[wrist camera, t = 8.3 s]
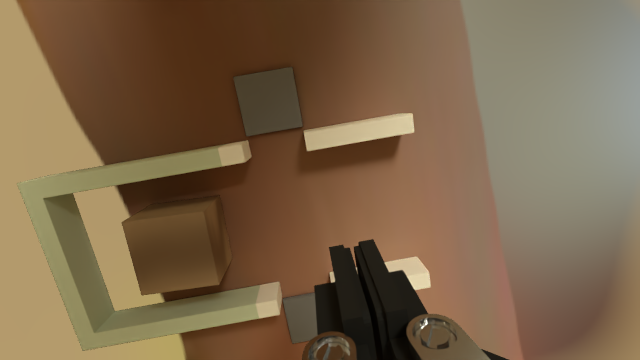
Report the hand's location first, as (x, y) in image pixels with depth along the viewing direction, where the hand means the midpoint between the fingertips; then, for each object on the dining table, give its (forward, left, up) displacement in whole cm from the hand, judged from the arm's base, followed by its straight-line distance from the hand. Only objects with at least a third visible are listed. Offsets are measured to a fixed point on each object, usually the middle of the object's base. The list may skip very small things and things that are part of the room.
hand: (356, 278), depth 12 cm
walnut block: (+1, -11, -12) cm, 16 cm away
